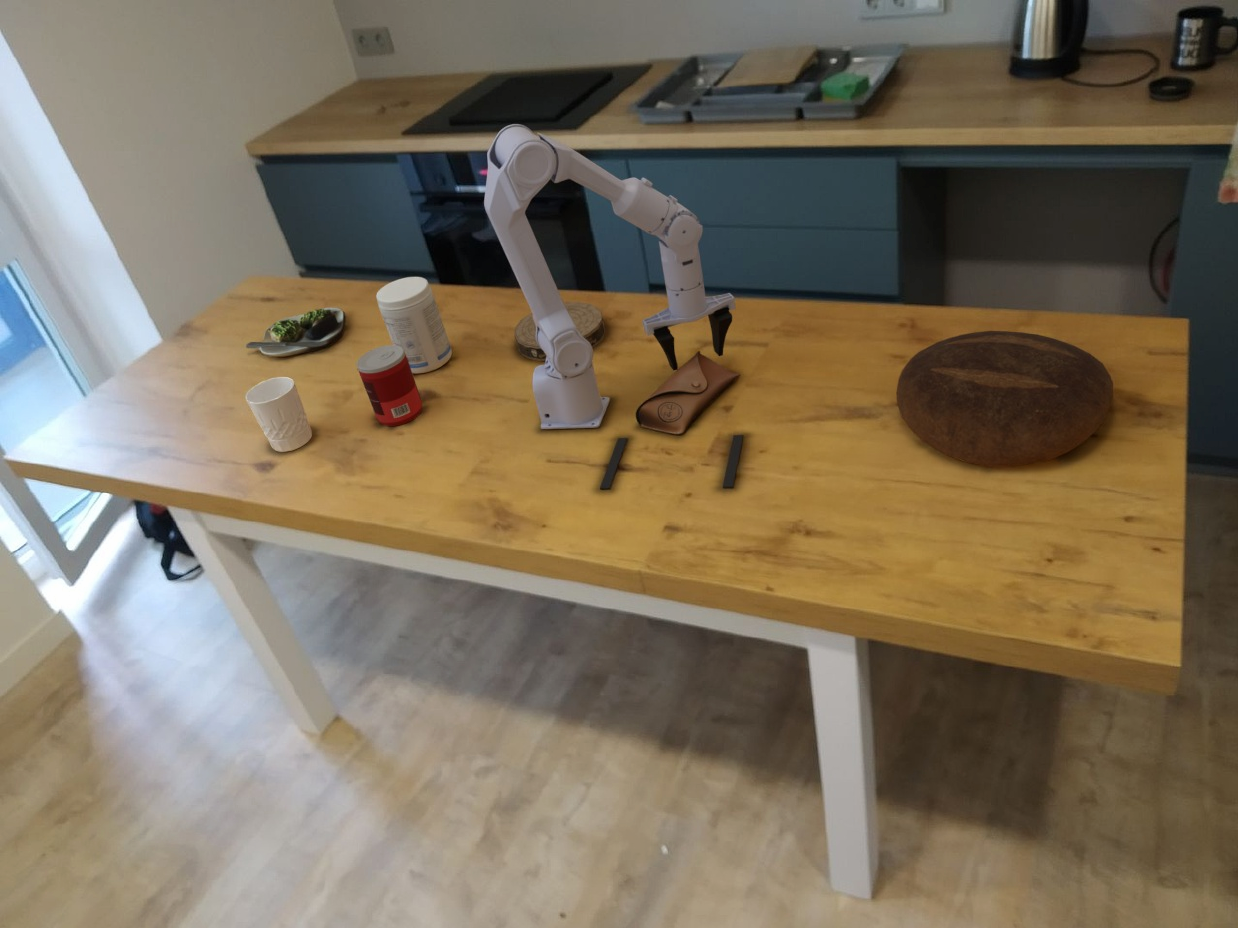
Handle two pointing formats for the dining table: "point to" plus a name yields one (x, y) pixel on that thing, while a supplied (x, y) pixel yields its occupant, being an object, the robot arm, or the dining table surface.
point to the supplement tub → (415, 323)
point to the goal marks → (729, 473)
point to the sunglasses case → (684, 395)
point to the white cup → (280, 413)
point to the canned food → (390, 385)
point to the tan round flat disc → (583, 318)
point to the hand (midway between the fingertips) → (696, 360)
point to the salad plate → (302, 333)
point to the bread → (1004, 397)
